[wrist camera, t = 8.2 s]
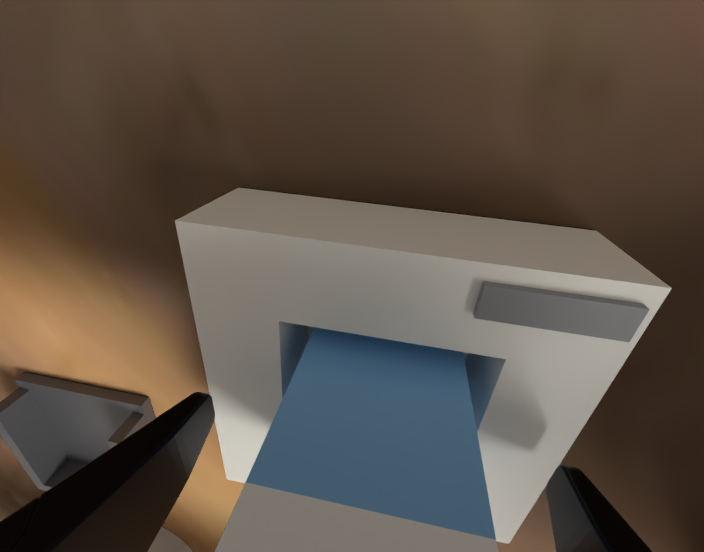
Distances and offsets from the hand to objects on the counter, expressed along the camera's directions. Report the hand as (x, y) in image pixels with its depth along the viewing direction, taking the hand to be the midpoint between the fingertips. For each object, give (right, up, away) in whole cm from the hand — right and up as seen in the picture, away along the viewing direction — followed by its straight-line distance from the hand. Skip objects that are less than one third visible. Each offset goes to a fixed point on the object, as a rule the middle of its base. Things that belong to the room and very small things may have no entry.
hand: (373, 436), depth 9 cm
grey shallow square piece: (-14, -4, +9) cm, 17 cm away
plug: (+1, +2, +3) cm, 3 cm away
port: (+1, +2, +3) cm, 4 cm away
